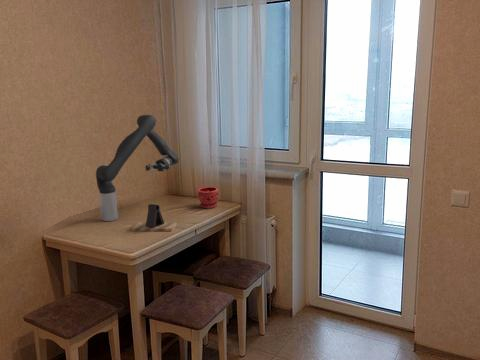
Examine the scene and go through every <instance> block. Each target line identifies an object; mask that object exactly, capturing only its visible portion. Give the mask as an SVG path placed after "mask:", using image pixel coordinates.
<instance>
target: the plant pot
mask: <svg viewBox="0 0 480 360" xmlns="http://www.w3.org/2000/svg"><path fill="white" fill-rule="evenodd" d="M197 194H198V199H199V202H200V204H199V205H200V207H202V208H204V209H212V208H213V209H214V208H216V207H217V206H218V204H219V203H218V199H219V189H218V188H217V187H214V186H205V187H201V188H199V189H198V190H197Z"/></svg>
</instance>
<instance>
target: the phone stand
mask: <svg viewBox="0 0 480 360" xmlns="http://www.w3.org/2000/svg"><path fill="white" fill-rule="evenodd" d="M145 223H146V227H151V228H155V227H158V226H160V225H163V224H164V223H165V220H164V217H163V215H162V213H161V210H160V205H159V204H154V203H153V204H152V203H150V204H148V205H147V216H146V222H145Z"/></svg>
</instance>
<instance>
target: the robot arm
mask: <svg viewBox="0 0 480 360" xmlns="http://www.w3.org/2000/svg"><path fill="white" fill-rule="evenodd" d="M156 123H157V120H156V117H154V115H151V114H142V115H139V116H138V118H137V119H136V124H137V126H138V127H137V128H136V129H135V130H133V132H131V133H130V134H129V135H127V136H126V137H125V138H124V139H123V140H122V141H121V142H120V144H119V145H118V146H117V148H116V152H115V154H114V158H113V159H112V160H111V162H110V163H109V164H108V165H100V166H98V167H97V168H96V171H95V178H96V184H97V189H98V191H99V198H100V204H99V213H100V220H101V221H103V222H113V221H114V222H115V221H117V220H119V214H118V203H117V194H116V193H117V192H116V186H114V184H113V182H112V181H113V180H115V179H116V177H117V175H118V174H119V172H120V171H121V169H122V168H123V167H124V165H125V164H126V162H127V161H128V159H129V158H130V157H131V156H132V155H133V153H134V152H135V151H136V149H137V148H138V147H139V145H140V144H142V141H144V139H145V137H147V138H148V139H149V140H150V141H151V142H152V144H153V145H154V147H155V148H156V150H157V151H158V153H159V154H160V155H161V156H164V157H162V158H160V159H158V160H156V161H155V163H152V164H150V163H149V164H146V165H145V170H146V171H147V172H148V171H158V172H164V171H167V170H170V169H171V166H174V165H176V164H178V163H179V160H180V159H179V158H180V157H178V155H177V154H176V153H175V152H174V151H173V150H172V149H171V148H170V147H169V145H168V144H167V142H166V141H165V140H164V138H163V137H162V136H160V135H159V134H158V133H157V132H156V131H155V130H154V128H155V127H156Z"/></svg>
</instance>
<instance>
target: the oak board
mask: <svg viewBox="0 0 480 360" xmlns="http://www.w3.org/2000/svg"><path fill="white" fill-rule="evenodd" d="M176 227H177V222H164V224H163V225H160V226H158V227H155V228H151V227H146V222H139V221H138V222H135V223H134V224H133V225H132V226H130V227H129V231H134V232H135V231H137V232H141V231H142V232H144V231H145V232H172V231H173V230H174V229H175V228H176Z"/></svg>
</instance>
